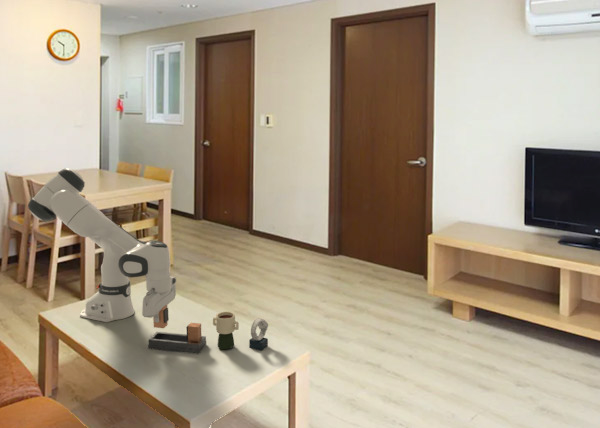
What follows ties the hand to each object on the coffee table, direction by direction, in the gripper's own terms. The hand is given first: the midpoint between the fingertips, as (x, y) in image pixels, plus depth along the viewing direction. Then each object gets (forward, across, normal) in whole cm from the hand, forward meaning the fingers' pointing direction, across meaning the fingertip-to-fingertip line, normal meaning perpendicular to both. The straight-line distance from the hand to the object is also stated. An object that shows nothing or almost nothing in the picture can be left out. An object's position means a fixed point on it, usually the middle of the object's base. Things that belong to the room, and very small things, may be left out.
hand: (160, 319), depth 192 cm
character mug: (+11, +4, -24) cm, 27 cm away
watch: (+11, +8, -36) cm, 39 cm away
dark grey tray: (+11, +1, -6) cm, 12 cm away
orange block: (+3, 0, 0) cm, 3 cm away
